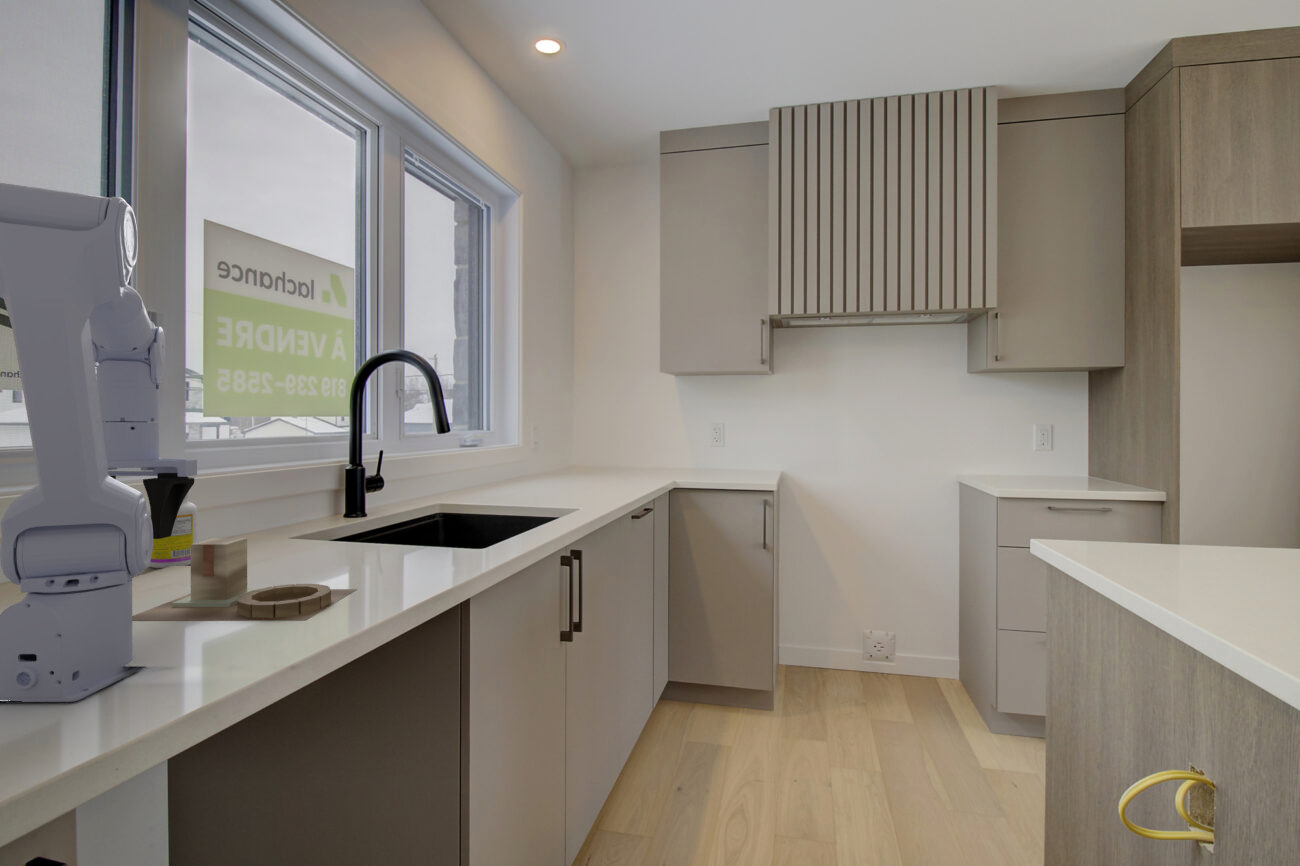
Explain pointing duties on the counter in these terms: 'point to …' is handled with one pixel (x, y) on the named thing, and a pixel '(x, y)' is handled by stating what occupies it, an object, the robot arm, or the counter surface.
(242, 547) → the peg
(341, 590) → the base board
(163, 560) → the supplement bottle
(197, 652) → the counter surface
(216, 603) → the sage pad
